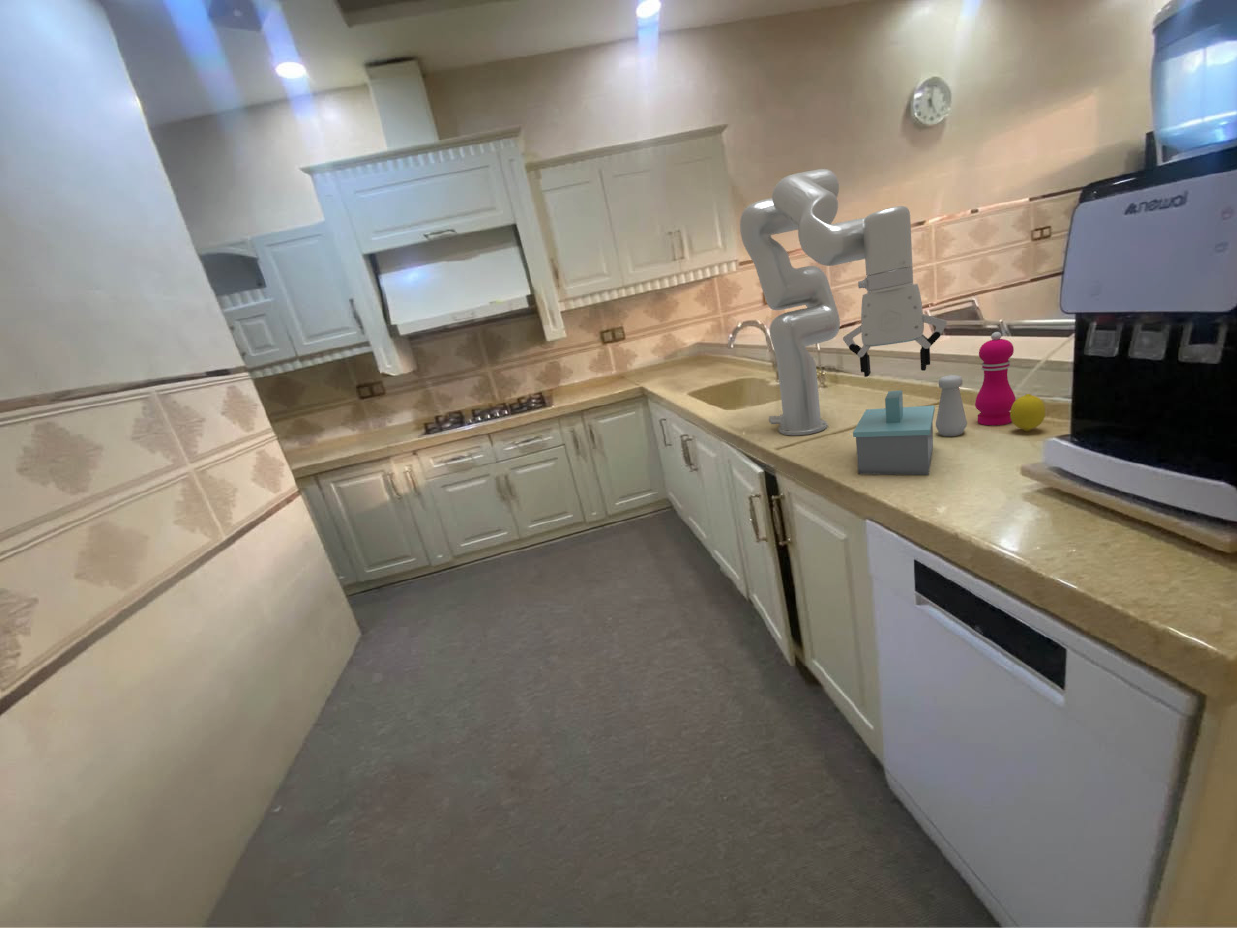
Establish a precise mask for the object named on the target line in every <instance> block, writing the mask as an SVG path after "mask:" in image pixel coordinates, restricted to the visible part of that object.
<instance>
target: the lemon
mask: <svg viewBox="0 0 1237 928" xmlns="http://www.w3.org/2000/svg"><path fill="white" fill-rule="evenodd" d="M1009 412H1010V417H1011V420H1012V422H1011V423H1012V424H1013V425H1014V426H1015V427H1017V428H1019V429H1022V430H1023V431H1024V432H1030V431H1031V430H1032V429H1035V428H1037V427H1039V426H1040V425H1042V423H1043V422H1044V421H1045V416H1046V406H1045V403H1044V401H1043V400H1042V399H1041V398H1040V397H1038V396H1036V395H1032V394H1031V393H1026V394H1025V395H1022V396H1020V397H1018V398H1016V401H1015V402H1014V403H1013V405H1012V407H1011V410H1010V411H1009Z"/></svg>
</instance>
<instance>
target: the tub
mask: <svg viewBox="0 0 1237 928" xmlns="http://www.w3.org/2000/svg"><path fill="white" fill-rule="evenodd" d="M855 442H856V443H855V444H856V447H855V448H856V459H857V462H856V463H857V473H858V475H892V476H893V475H896V476H897V475H901V476H903V475H904V476H905V475H907V476H912V475H913V476H922V475H923V476H929V474H930V467H931V461H932V455H933V451H934V450H933V449H934V427H933V422H932V427H931V433H930V435H912V436H877V437H855Z"/></svg>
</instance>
